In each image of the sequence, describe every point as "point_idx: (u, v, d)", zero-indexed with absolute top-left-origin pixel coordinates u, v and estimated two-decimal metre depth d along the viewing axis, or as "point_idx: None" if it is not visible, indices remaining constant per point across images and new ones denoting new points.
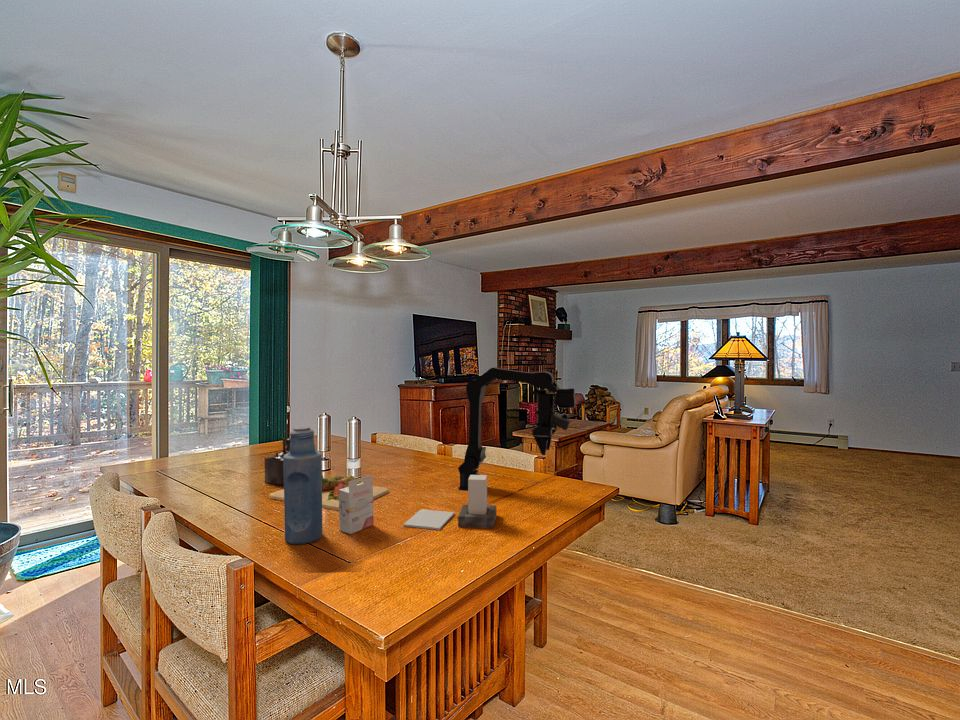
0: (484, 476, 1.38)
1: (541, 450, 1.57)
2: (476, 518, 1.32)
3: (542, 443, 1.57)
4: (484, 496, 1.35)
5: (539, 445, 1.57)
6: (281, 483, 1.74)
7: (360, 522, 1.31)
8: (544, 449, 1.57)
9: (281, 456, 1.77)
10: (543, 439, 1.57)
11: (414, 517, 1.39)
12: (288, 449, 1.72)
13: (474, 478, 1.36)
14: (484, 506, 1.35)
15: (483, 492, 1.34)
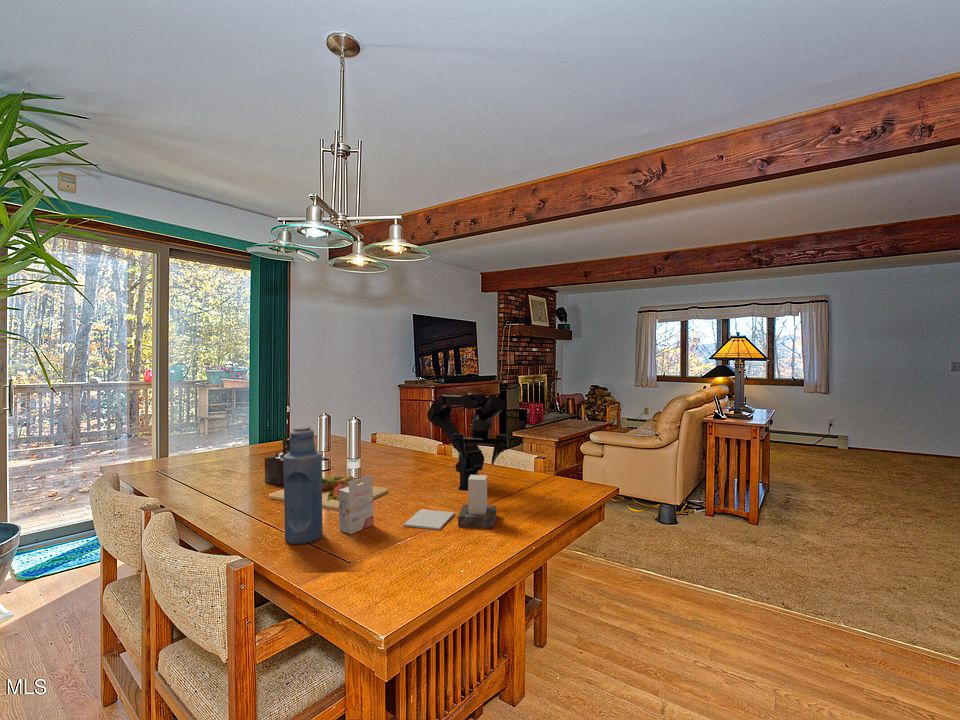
0: (484, 476, 1.38)
1: None
2: (476, 518, 1.32)
3: (462, 452, 1.55)
4: (484, 496, 1.35)
5: None
6: (281, 483, 1.74)
7: (360, 522, 1.31)
8: (462, 456, 1.53)
9: (281, 456, 1.77)
10: None
11: (414, 517, 1.39)
12: (288, 449, 1.72)
13: (474, 478, 1.36)
14: (484, 506, 1.35)
15: (483, 492, 1.35)
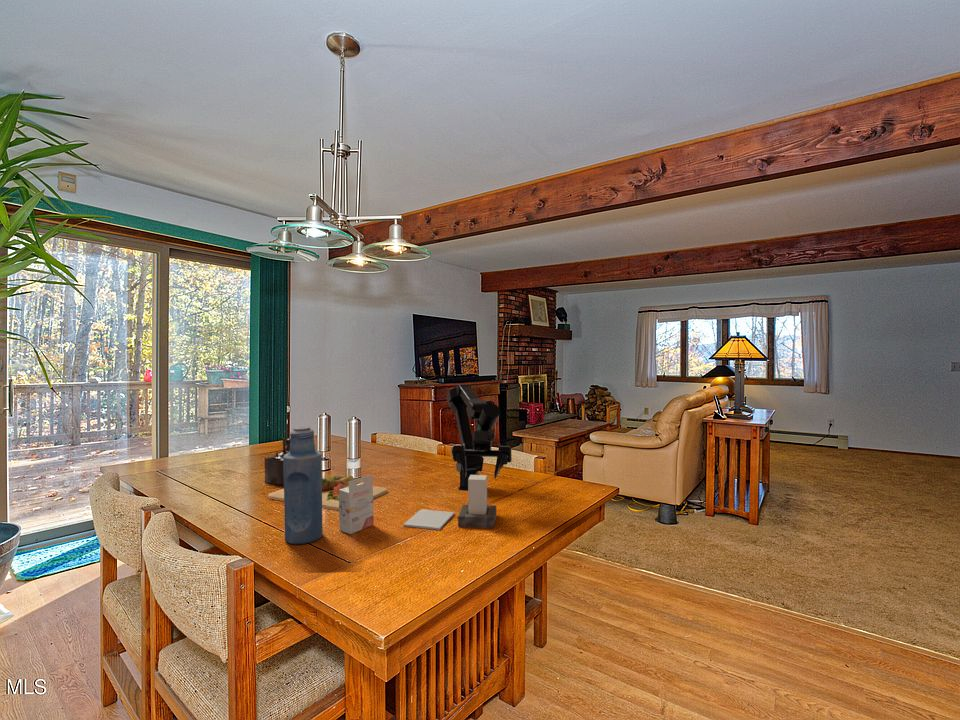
0: (484, 476, 1.38)
1: (463, 473, 1.44)
2: (476, 518, 1.32)
3: None
4: (484, 496, 1.35)
5: (462, 469, 1.46)
6: (281, 483, 1.74)
7: (360, 522, 1.31)
8: (462, 470, 1.44)
9: (281, 456, 1.77)
10: None
11: (414, 517, 1.39)
12: (288, 449, 1.72)
13: (474, 478, 1.36)
14: (484, 506, 1.35)
15: (483, 492, 1.35)
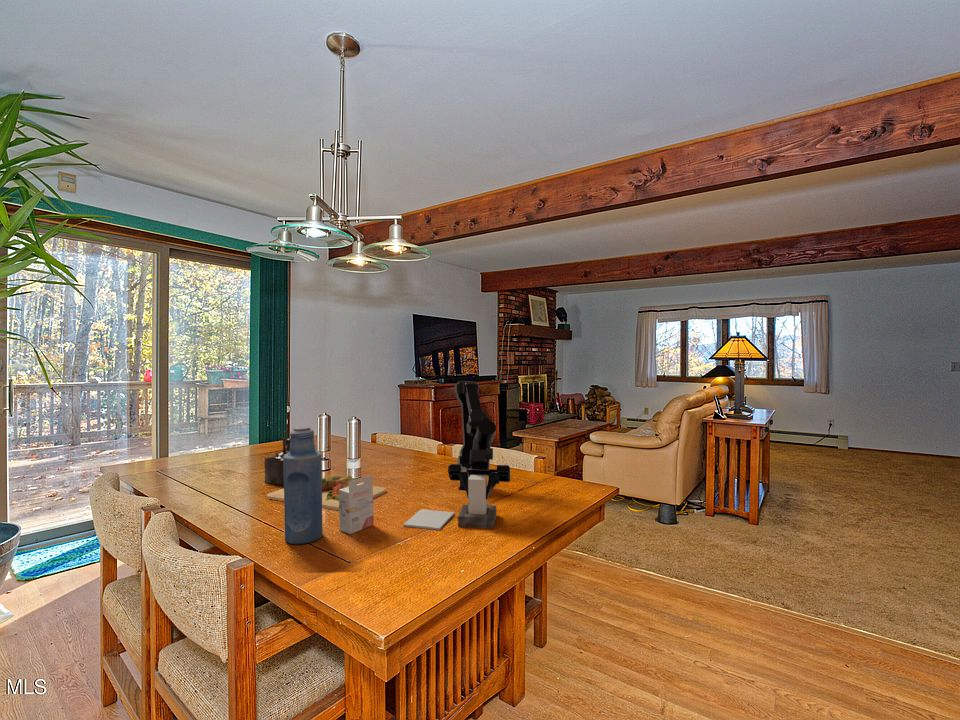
0: (484, 476, 1.38)
1: None
2: (476, 518, 1.32)
3: None
4: (484, 496, 1.35)
5: (465, 489, 1.40)
6: (281, 483, 1.74)
7: (360, 522, 1.31)
8: (466, 490, 1.37)
9: (281, 456, 1.77)
10: None
11: (414, 517, 1.39)
12: (288, 449, 1.72)
13: (474, 478, 1.36)
14: (484, 506, 1.35)
15: (483, 492, 1.34)
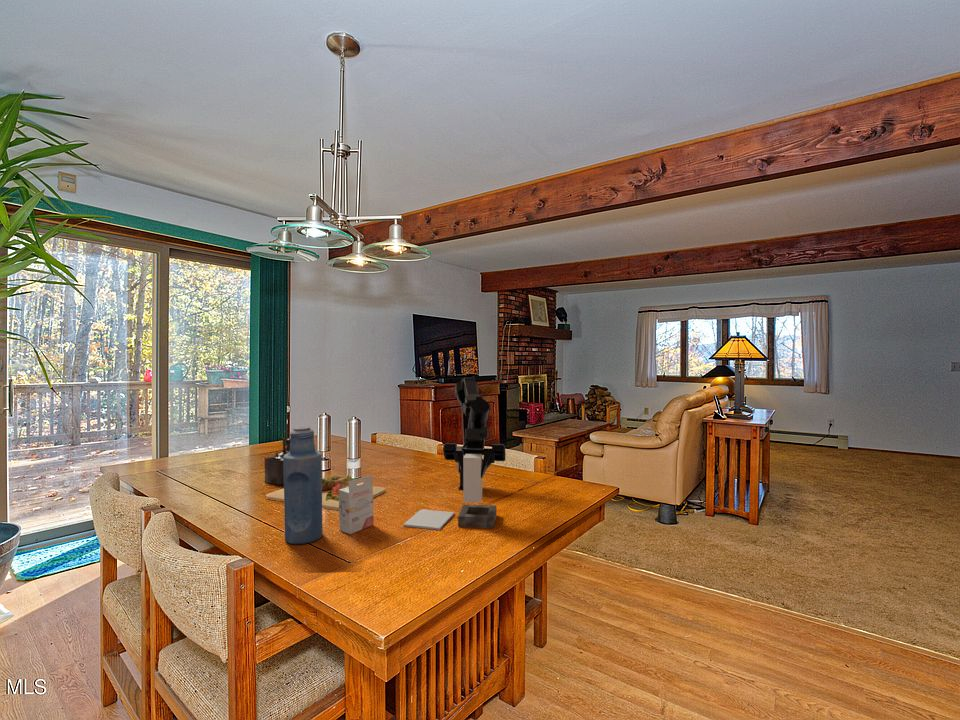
0: (479, 455, 1.38)
1: (461, 472, 1.38)
2: (476, 518, 1.32)
3: None
4: (479, 474, 1.35)
5: (460, 468, 1.39)
6: (281, 483, 1.74)
7: (360, 522, 1.31)
8: (461, 469, 1.37)
9: (281, 456, 1.77)
10: None
11: (414, 517, 1.39)
12: (288, 449, 1.72)
13: (469, 456, 1.36)
14: (479, 484, 1.35)
15: (478, 470, 1.35)
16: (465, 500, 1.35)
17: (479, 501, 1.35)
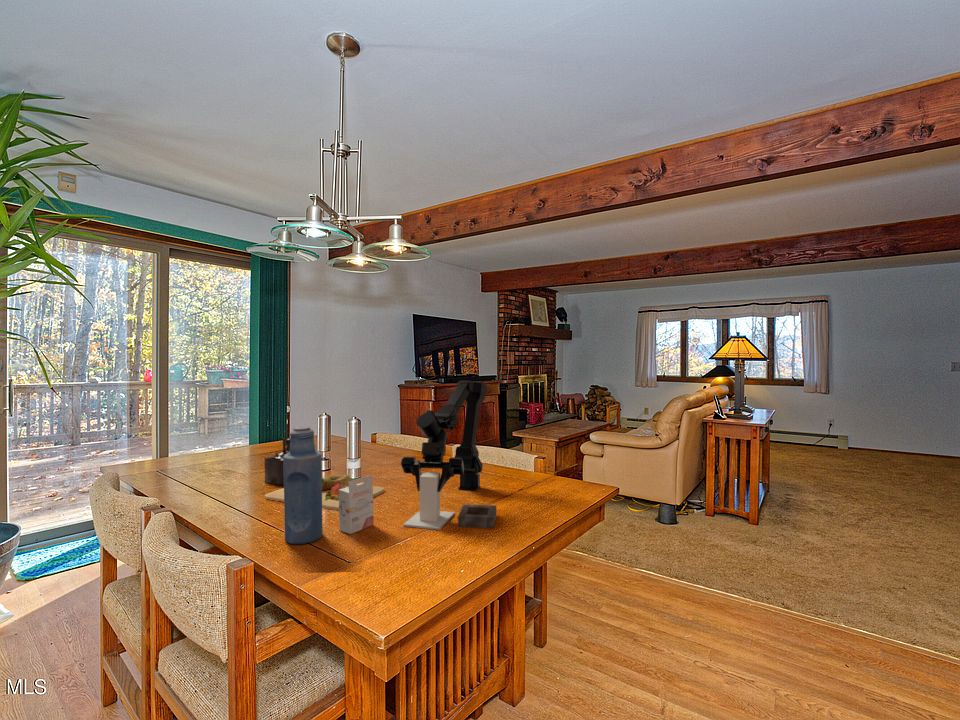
0: (437, 473, 1.38)
1: None
2: (476, 518, 1.32)
3: None
4: (435, 493, 1.35)
5: None
6: (281, 483, 1.74)
7: (360, 522, 1.31)
8: None
9: (281, 456, 1.77)
10: None
11: (414, 517, 1.39)
12: (288, 449, 1.72)
13: (426, 475, 1.36)
14: (435, 503, 1.35)
15: (434, 489, 1.35)
16: (421, 518, 1.36)
17: (435, 520, 1.35)
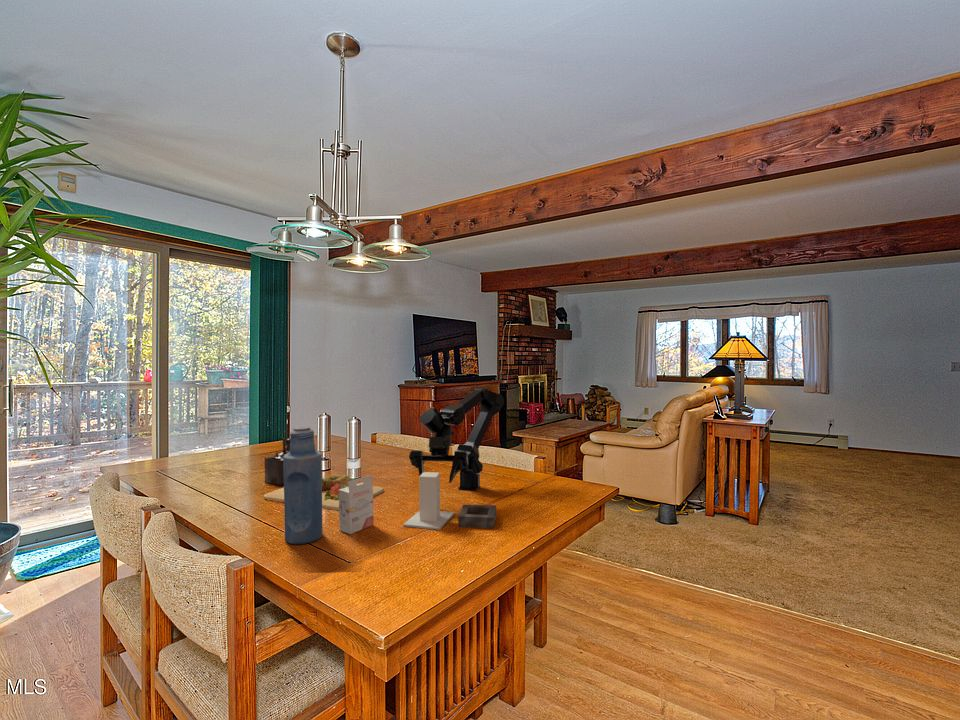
0: (436, 473, 1.39)
1: None
2: (476, 518, 1.32)
3: None
4: (435, 493, 1.35)
5: None
6: (281, 483, 1.74)
7: (360, 522, 1.31)
8: (419, 474, 1.48)
9: (281, 456, 1.77)
10: None
11: (414, 517, 1.39)
12: (288, 449, 1.72)
13: (425, 475, 1.37)
14: (435, 503, 1.35)
15: (434, 489, 1.35)
16: (421, 519, 1.36)
17: (435, 520, 1.35)
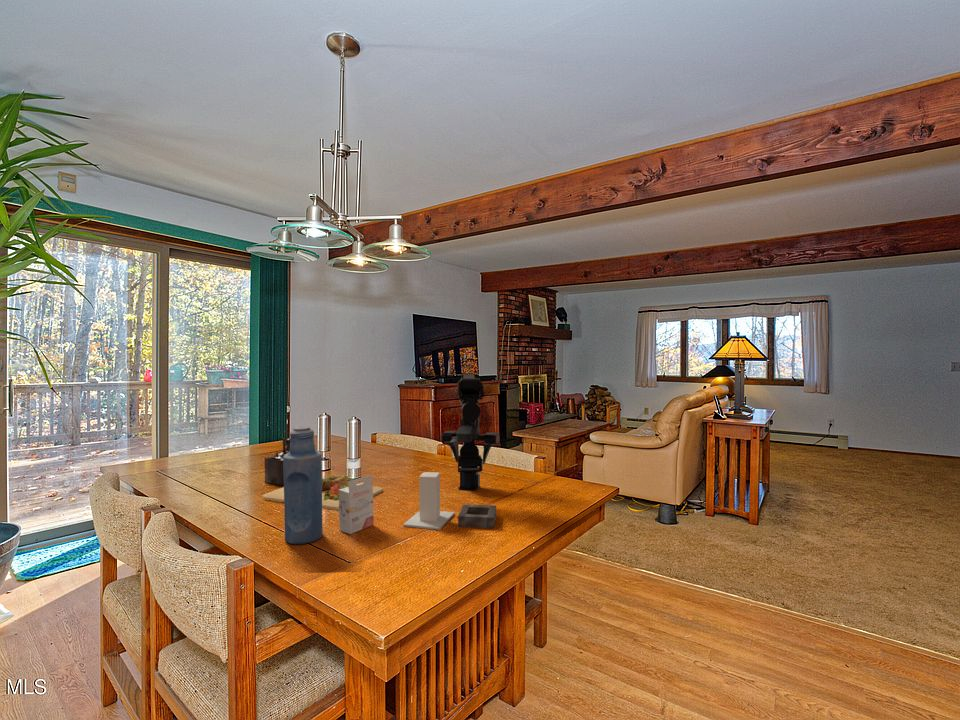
0: (436, 473, 1.39)
1: None
2: (476, 518, 1.32)
3: None
4: (435, 493, 1.35)
5: None
6: (281, 483, 1.74)
7: (360, 522, 1.31)
8: None
9: (281, 456, 1.77)
10: None
11: (414, 517, 1.39)
12: (288, 449, 1.72)
13: (425, 475, 1.37)
14: (435, 503, 1.35)
15: (434, 489, 1.35)
16: (421, 519, 1.36)
17: (435, 520, 1.35)
